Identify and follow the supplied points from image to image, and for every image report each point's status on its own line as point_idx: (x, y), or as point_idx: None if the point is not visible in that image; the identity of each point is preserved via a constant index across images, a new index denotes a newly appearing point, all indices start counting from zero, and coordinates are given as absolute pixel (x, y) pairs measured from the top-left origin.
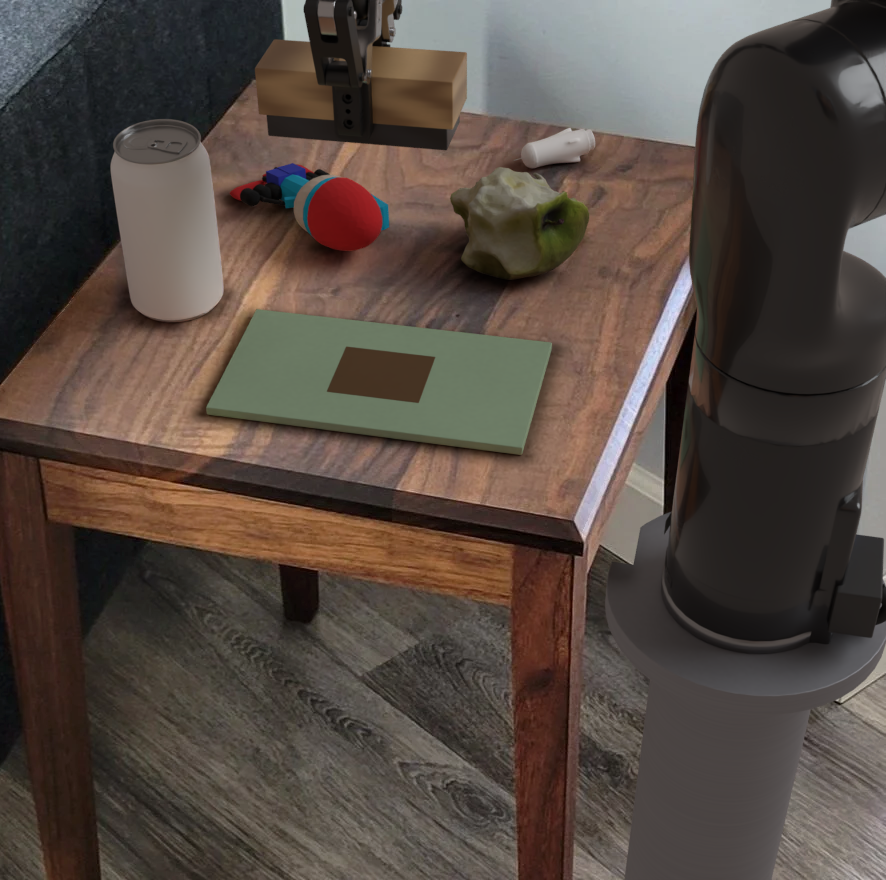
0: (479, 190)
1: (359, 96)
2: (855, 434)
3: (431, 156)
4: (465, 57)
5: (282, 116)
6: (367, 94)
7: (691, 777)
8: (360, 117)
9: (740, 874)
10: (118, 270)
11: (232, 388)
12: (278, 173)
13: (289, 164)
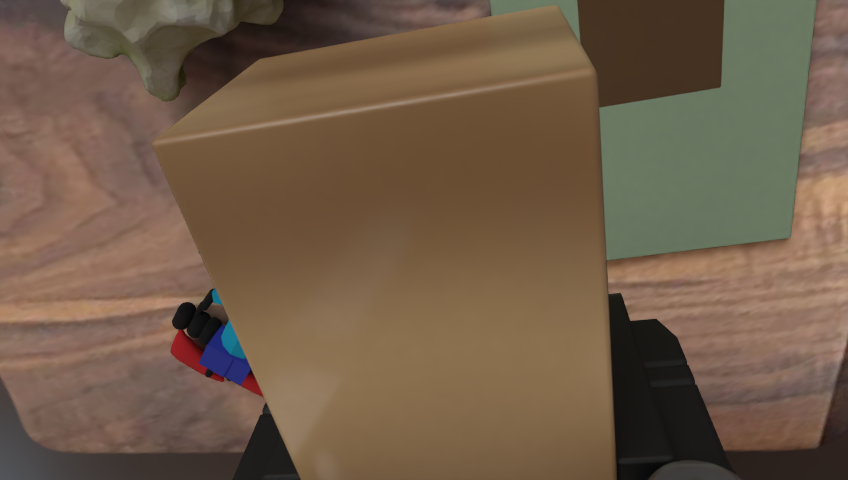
0: (186, 22)
1: (709, 444)
2: None
3: (17, 199)
4: (202, 127)
5: None
6: (661, 421)
7: None
8: (680, 371)
9: None
10: None
11: (735, 223)
12: (239, 370)
13: (205, 365)
